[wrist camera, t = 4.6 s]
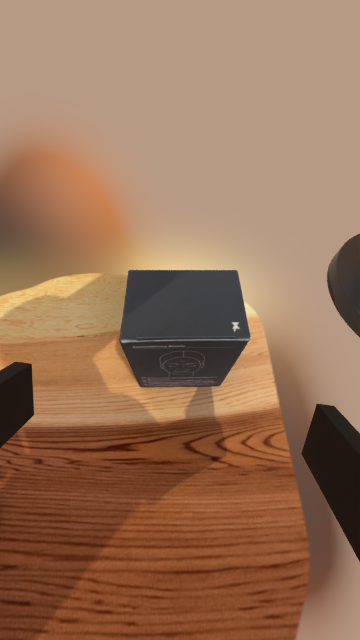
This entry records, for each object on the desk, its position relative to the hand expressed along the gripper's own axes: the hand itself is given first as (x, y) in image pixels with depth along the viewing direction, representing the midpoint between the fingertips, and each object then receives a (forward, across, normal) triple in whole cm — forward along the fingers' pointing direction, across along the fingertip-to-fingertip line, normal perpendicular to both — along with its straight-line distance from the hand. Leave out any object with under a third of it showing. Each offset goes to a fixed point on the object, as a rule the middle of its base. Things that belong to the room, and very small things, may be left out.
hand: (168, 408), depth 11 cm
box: (+13, 0, -4) cm, 13 cm away
